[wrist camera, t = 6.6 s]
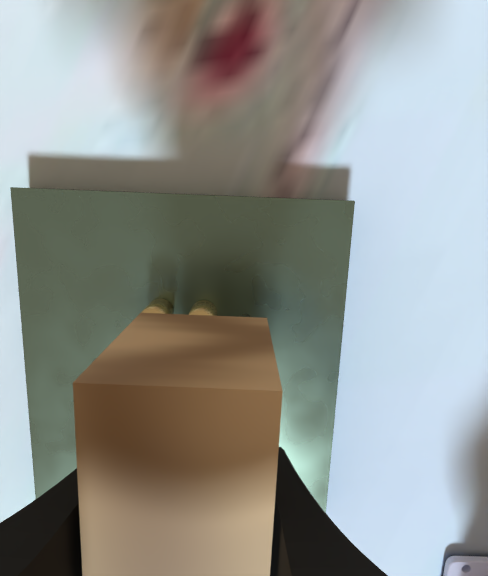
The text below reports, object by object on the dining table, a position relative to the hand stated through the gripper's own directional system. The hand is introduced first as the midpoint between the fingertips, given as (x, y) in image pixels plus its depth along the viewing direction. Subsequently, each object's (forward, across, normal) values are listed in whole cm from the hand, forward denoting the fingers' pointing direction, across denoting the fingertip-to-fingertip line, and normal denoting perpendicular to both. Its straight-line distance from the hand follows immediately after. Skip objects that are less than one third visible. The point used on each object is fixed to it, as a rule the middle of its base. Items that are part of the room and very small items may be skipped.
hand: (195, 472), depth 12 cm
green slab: (+8, +2, 0) cm, 9 cm away
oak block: (+1, 0, 0) cm, 1 cm away
